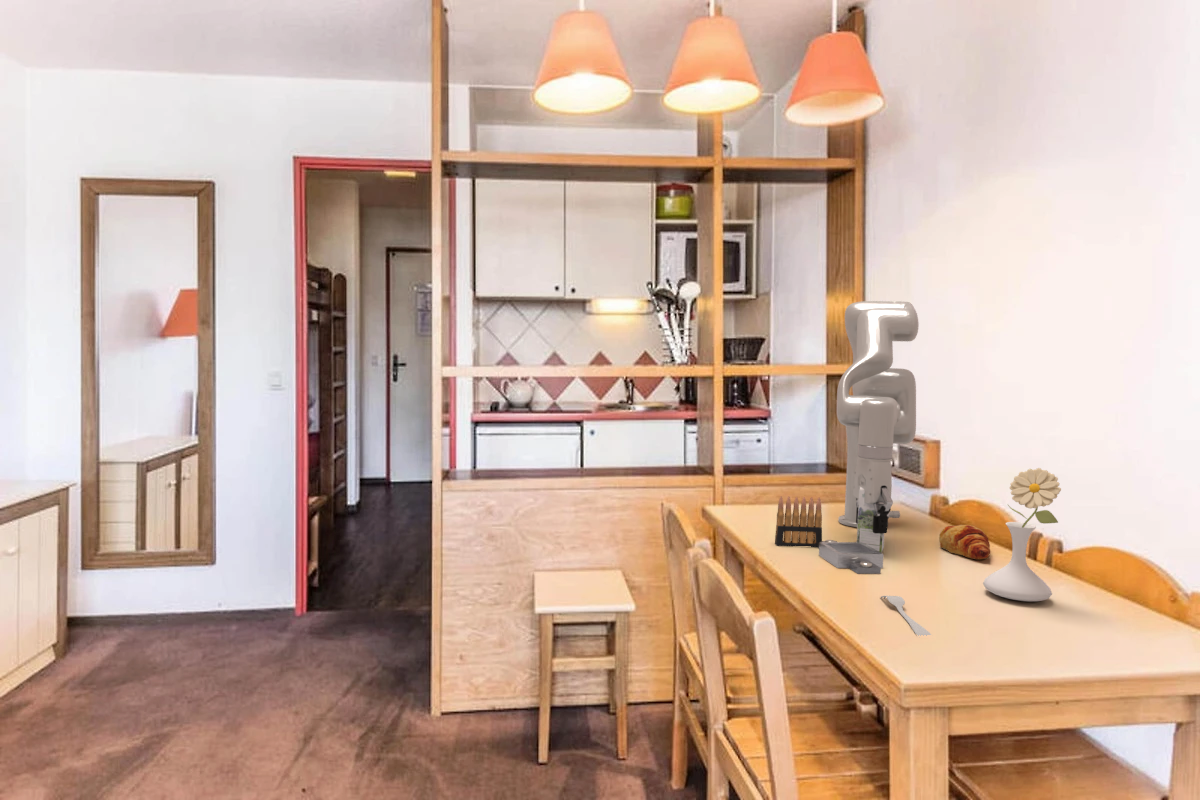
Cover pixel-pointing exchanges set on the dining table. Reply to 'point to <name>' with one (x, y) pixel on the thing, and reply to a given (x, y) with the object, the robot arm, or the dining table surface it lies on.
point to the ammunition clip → (798, 524)
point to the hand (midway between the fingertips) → (871, 527)
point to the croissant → (965, 541)
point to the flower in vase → (1025, 538)
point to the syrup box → (868, 524)
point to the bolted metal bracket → (852, 556)
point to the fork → (899, 604)
